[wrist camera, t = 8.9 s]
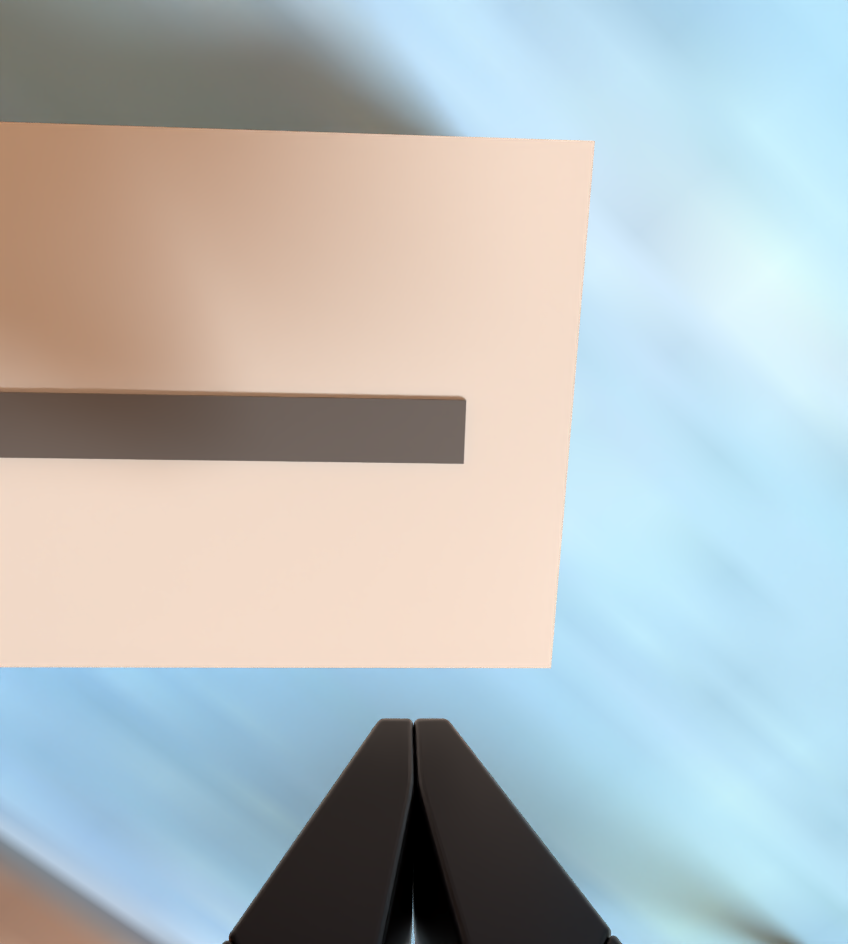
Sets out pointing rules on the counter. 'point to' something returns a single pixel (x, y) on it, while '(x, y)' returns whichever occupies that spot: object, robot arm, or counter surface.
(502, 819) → the robot arm
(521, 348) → the board
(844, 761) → the counter surface
